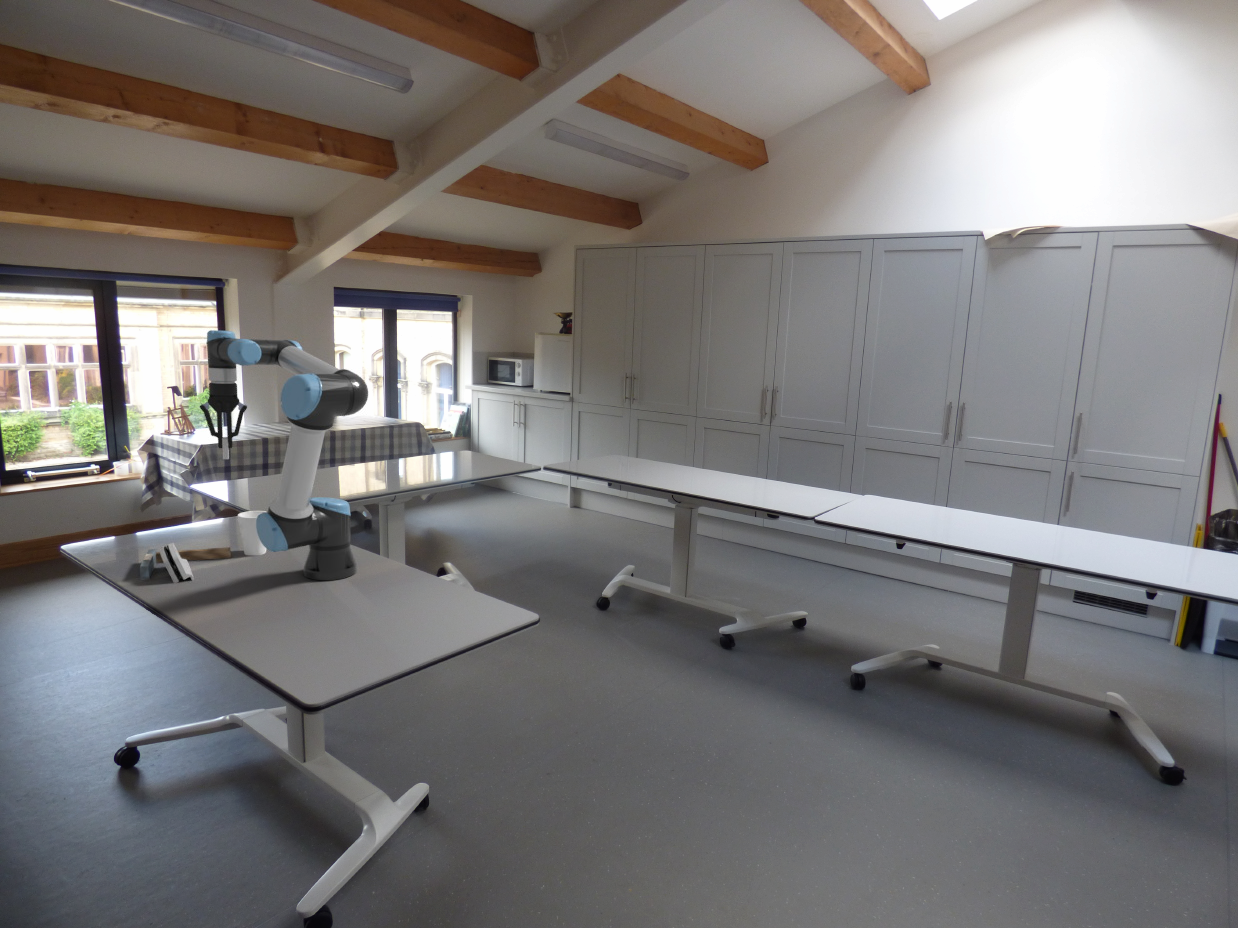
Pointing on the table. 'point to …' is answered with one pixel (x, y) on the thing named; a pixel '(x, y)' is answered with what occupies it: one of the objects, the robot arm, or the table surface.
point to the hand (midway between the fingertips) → (225, 458)
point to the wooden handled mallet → (199, 554)
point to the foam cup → (250, 533)
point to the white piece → (175, 563)
